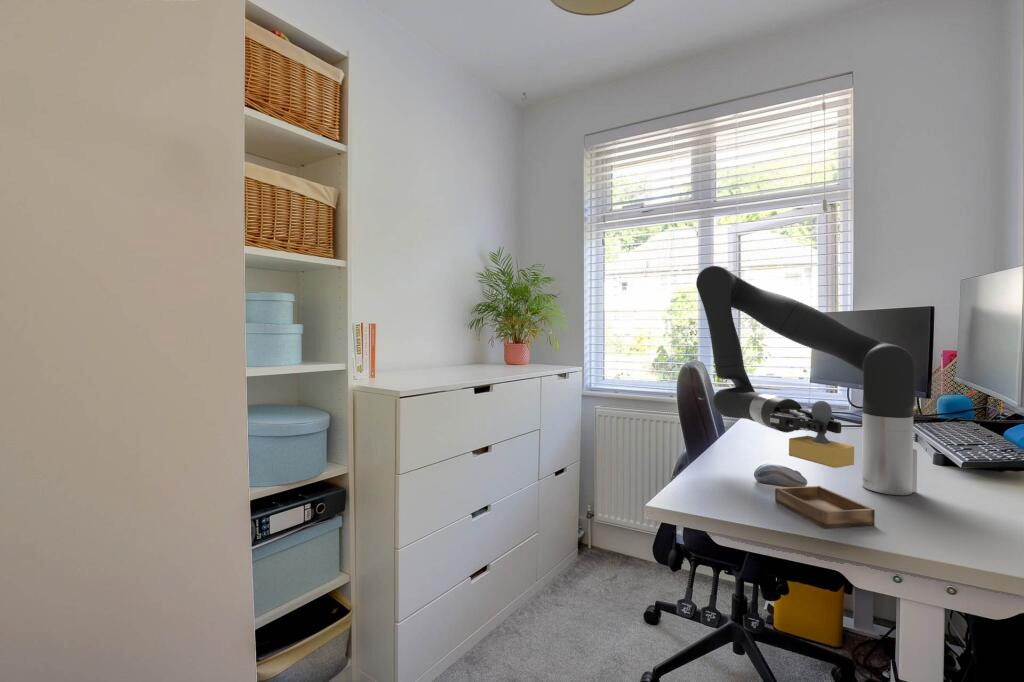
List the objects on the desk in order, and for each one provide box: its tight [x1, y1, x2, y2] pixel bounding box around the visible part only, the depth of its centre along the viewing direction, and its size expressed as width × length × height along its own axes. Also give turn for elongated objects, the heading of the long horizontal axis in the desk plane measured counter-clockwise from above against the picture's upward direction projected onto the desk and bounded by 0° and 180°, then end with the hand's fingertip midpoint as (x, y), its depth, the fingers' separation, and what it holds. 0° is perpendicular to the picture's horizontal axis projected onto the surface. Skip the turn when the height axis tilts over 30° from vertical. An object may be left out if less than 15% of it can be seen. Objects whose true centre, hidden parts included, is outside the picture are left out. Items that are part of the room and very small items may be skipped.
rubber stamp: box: [788, 400, 855, 469], centre depth 98 cm, size 10×6×12 cm, turn 23°
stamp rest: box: [774, 485, 876, 530], centre depth 99 cm, size 10×14×3 cm
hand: (832, 428), depth 95 cm, fingers closed on rubber stamp, 2 cm apart
